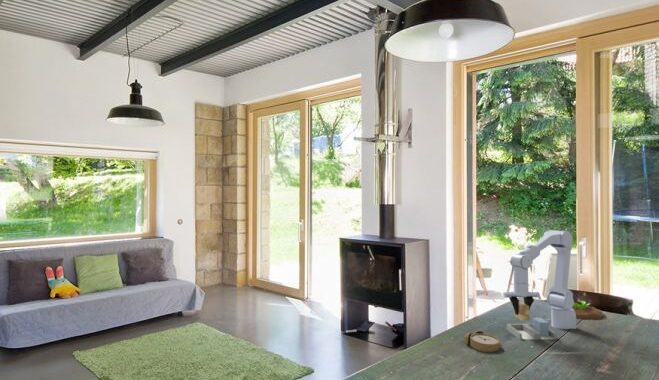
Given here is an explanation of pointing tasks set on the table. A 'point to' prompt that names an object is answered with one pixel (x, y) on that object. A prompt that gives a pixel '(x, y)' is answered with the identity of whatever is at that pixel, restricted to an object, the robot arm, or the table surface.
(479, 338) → the alarm clock
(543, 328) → the slate-blue plug block
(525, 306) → the maple plug block
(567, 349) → the table surface
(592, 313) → the plant
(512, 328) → the grey socket board
